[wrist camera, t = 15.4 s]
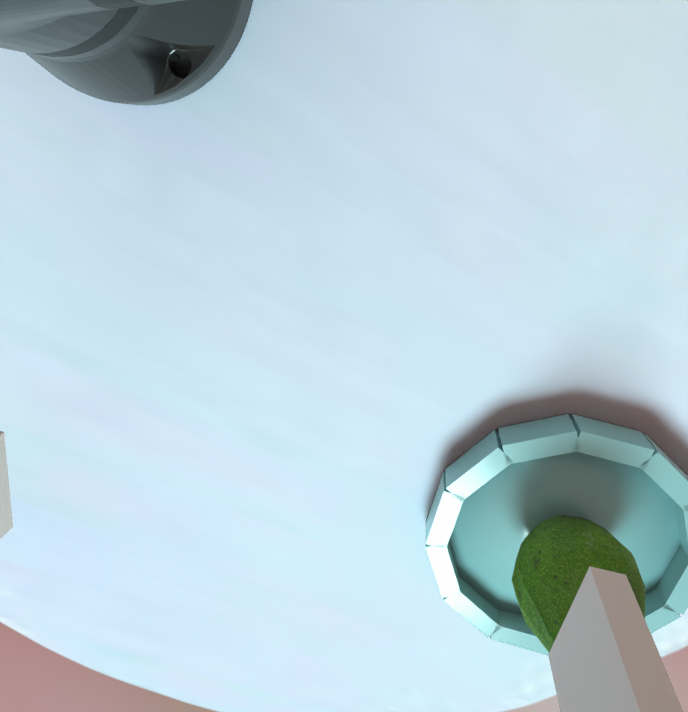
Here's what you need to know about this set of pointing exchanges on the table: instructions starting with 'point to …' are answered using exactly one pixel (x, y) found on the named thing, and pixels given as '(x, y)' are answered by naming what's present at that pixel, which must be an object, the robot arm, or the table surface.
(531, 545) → the avocado
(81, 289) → the table surface
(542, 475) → the dish
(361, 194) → the table surface
